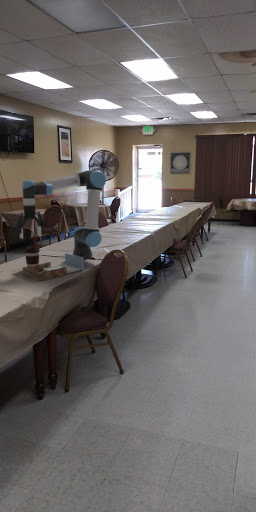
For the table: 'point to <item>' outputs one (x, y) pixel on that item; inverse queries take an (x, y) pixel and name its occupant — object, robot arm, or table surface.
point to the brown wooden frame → (37, 273)
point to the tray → (70, 264)
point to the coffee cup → (32, 255)
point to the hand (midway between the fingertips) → (30, 237)
